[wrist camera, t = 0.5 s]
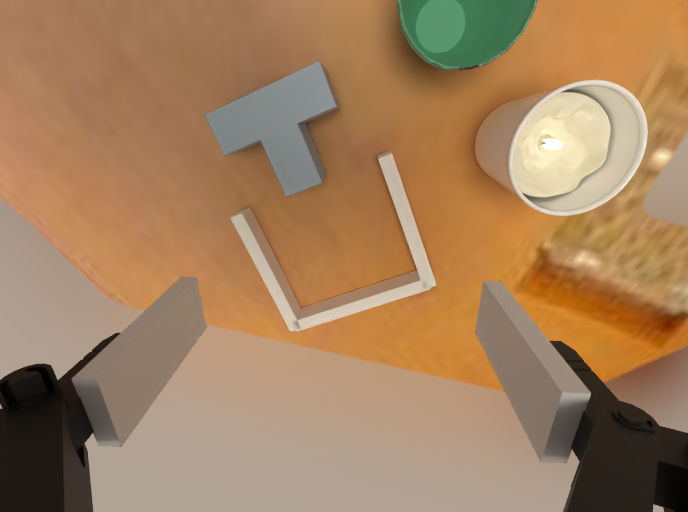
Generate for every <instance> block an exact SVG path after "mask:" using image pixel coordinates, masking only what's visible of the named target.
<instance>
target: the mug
mask: <svg viewBox="0 0 688 512" xmlns="http://www.w3.org/2000/svg"><path fill="white" fill-rule="evenodd" d="M536 3H537V0H397V7H398V13H399V19H400V24H401V29H402V31H403V33H404V35H405V37H406V39H407V41H408V43H409V45H410V47H411V48H412V49H413V50H414V51H415V52H416V53H417V54H418V55H419V56H420V57H421V58H422V59H423V60H424V61H425V62H426V63H429V64H431V65H433V66H435V67H437V68H440V69H442V70H465V69H473V68H476V67H480V66H483V65H486V64H488V63H489V62H491V61H492V60H494V59H495V58H497V57H499V56H500V55H502V54H503V53H505V52H506V51H507V50H508V49H509V48H510V47H511V46H512V45H513V43H514V42H515V41H516V40H517V39H518V38H519V37H520V35H521V34H522V33H523V32H524V30H525V28H526V26H527V24H528V22H529V20H530V18H531V16H532V14H533V12H534V10H535V8H536Z"/></svg>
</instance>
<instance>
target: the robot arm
mask: <svg viewBox="0 0 688 512" xmlns="http://www.w3.org/2000/svg"><path fill="white" fill-rule="evenodd" d="M206 328H207V326H206V321H205V316H204V311H203V306H202V301H201V295H200V290H199V285H198V280H197V278H194V277H181V278H180V279H179V280H178V281H176V282H175V283H174V284H173V285H172V286H171V287H170V288H169V289H168V290H167V291H166V292H165V293H164V294H162V295H161V296H160V297H159V298H158V299H157V300H156V301H155V302H154V303H153V304H152V305H151V306H150V307H148V308H147V309H146V310H145V311H144V312H143V313H142V314H141V315H140V316H139V317H138V318H137V319H136V320H135V321H133V322H132V323H131V324H130V325H129V326H128V327H127V328H126V329H125V330H124V331H123V332H122V333H115V334H114V335H112V336H110V337H109V338H107V339H105V340H103V341H102V342H101V343H99V344H98V345H97V346H96V347H95V348H94V349H93V350H92V352H89V353H88V354H87V355H86V356H85V357H84V358H83V360H80V361H79V362H78V363H77V364H76V365H75V366H74V367H73V368H72V369H70V370H69V371H68V372H67V373H66V374H65V375H64V376H62V378H60V379H59V380H57V378H56V375H55V373H54V371H53V369H52V367H51V365H47V364H35V365H30V366H27V367H23V368H21V369H19V370H16V371H14V372H12V373H10V374H8V375H7V376H5V377H3V378H2V379H1V380H0V404H1V406H2V408H3V409H0V512H93V505H92V495H91V483H90V472H89V462H88V451H87V448H86V446H85V444H84V443H85V442H86V441H87V439H88V438H89V437H90V435H91V434H92V433H93V434H94V436H95V438H96V441H97V443H98V445H99V446H114V447H122V445H123V444H124V443H125V441H126V440H127V438H128V437H129V436H130V434H131V433H132V431H133V430H134V429H135V427H136V426H137V424H138V423H139V422H140V420H141V419H142V417H143V416H144V415H145V413H146V412H147V410H148V409H149V407H150V406H151V405H152V403H153V402H154V401H155V399H156V398H157V396H158V395H159V393H160V392H161V391H162V389H163V388H164V386H165V385H166V384H167V382H168V381H169V379H170V378H171V377H172V375H173V374H174V372H175V371H176V370H177V368H178V367H179V365H180V364H181V363H182V361H183V360H184V358H185V357H186V356H187V354H188V353H189V351H190V350H191V349H192V347H193V346H194V344H195V343H196V342H197V340H198V339H199V337H200V336H201V335H202V333H203V332H204V330H205V329H206ZM475 333H476V335H477V337H478V339H479V341H480V343H481V345H482V347H483V349H484V351H485V353H486V355H487V357H488V359H489V361H490V363H491V365H492V367H493V369H494V371H495V373H496V375H497V377H498V379H499V381H500V383H501V385H502V387H503V389H504V391H505V393H506V394H507V396H508V398H509V400H510V402H511V404H512V406H513V408H514V410H515V412H516V414H517V416H518V418H519V420H520V422H521V424H522V426H523V428H524V430H525V432H526V434H527V436H528V438H529V440H530V442H531V444H532V446H533V448H534V450H535V451H536V454H537V456H538V458H539V460H540V462H547V463H567V461H568V459H569V456H570V453H571V450H573V451H574V453H575V455H576V456H577V458H578V459H579V461H580V463H579V465H578V468H577V471H576V474H575V476H574V479H573V482H572V484H571V489H570V493H569V495H568V499H567V502H566V505H565V508H564V511H563V512H653V504H655V505H658V506H661V507H663V508H664V512H688V433H685V432H681V431H677V430H673V429H669V428H666V427H661V426H659V425H658V424H657V422H656V421H655V420H654V419H653V418H652V417H651V416H650V415H649V414H647V413H646V412H645V411H643V410H641V409H640V408H638V407H636V406H634V405H632V404H628V403H625V402H622V401H619V400H618V399H617V398H616V397H615V396H614V394H613V393H612V392H611V391H610V390H609V389H608V388H607V387H606V385H605V384H604V383H603V382H602V381H601V380H600V379H599V377H598V376H597V375H596V374H595V373H594V372H593V371H591V368H590V367H589V366H588V365H587V364H586V363H584V360H583V359H582V358H581V357H580V356H579V355H578V354H577V352H576V351H575V350H573V349H572V348H570V347H569V346H567V345H566V344H564V343H563V342H561V341H549V340H548V339H547V338H546V336H545V335H544V334H543V333H542V332H541V330H540V329H539V328H538V327H537V325H536V324H535V323H534V322H533V320H532V319H531V318H530V317H529V315H528V314H527V313H526V312H525V310H524V309H523V308H522V307H521V306H520V304H519V303H518V302H517V301H516V299H515V298H514V297H513V296H512V294H511V293H510V292H509V291H508V289H507V288H506V287H505V286H504V284H503V283H502V282H501V281H483V287H482V294H481V300H480V306H479V312H478V318H477V324H476V330H475Z"/></svg>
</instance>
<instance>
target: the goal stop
mask: <svg viewBox="0 0 688 512" xmlns="http://www.w3.org/2000/svg"><path fill="white" fill-rule="evenodd" d="M377 157H378V160H379V163H380V166H381V168H382V171H383V174H384V177H385V180H386V183H387V185H388V188H389V191H390V194H391V197H392V200H393V202H394V205H395V208H396V211H397V214H398V217H399V219H400V222H401V225H402V228H403V231H404V234H405V236H406V239H407V242H408V245H409V248H410V251H411V254H412V256H413V259H414V262H415V265H416V268H417V270H415V271H412V272H409V273H406V274H403V275H400V276H397V277H394V278H391V279H388V280H385V281H382V282H379V283H376V284H373V285H370V286H367V287H363V288H360V289H357V290H354V291H351V292H348V293H345V294H342V295H339V296H336V297H333V298H330V299H327V300H324V301H321V302H318V303H315V304H312V305H309V306H306V307H303V308H301V307H300V305H299V303H298V301H297V299H296V297H295V295H294V293H293V291H292V289H291V287H290V285H289V283H288V281H287V279H286V277H285V275H284V273H283V271H282V269H281V267H280V265H279V263H278V261H277V259H276V257H275V255H274V253H273V251H272V249H271V247H270V245H269V243H268V241H267V239H266V237H265V235H264V233H263V231H262V229H261V227H260V225H259V223H258V221H257V219H256V217H255V215H254V213H253V211H252V209H251V207H248V208H245V209H243V210H240V211H239V212H237V213H236V214H235V215H233V216H232V217H231V220H232V222H233V224H234V226H235V228H236V230H237V231H238V233H239V235H240V237H241V239H242V241H243V243H244V245H245V247H246V248H247V250H248V252H249V254H250V256H251V258H252V260H253V262H254V264H255V265H256V267H257V269H258V271H259V273H260V275H261V277H262V279H263V281H264V283H265V284H266V286H267V288H268V290H269V292H270V294H271V296H272V298H273V300H274V301H275V303H276V305H277V307H278V309H279V311H280V313H281V315H282V317H283V318H284V320H285V322H286V324H287V326H288V328H289V330H290V332H291V331H294V330H296V331H300V330H303V329H306V328H310V327H313V326H316V325H319V324H322V323H325V322H329V321H332V320H335V319H338V318H341V317H344V316H348V315H351V314H354V313H357V312H360V311H363V310H366V309H370V308H373V307H376V306H379V305H382V304H385V303H389V302H392V301H395V300H398V299H401V298H404V297H408V296H411V295H414V294H417V293H420V292H423V291H427V290H430V289H431V288H430V287H433V286H436V282H435V279H434V276H433V273H432V270H431V267H430V264H429V261H428V258H427V255H426V253H425V250H424V247H423V244H422V241H421V238H420V235H419V232H418V229H417V226H416V223H415V220H414V217H413V214H412V211H411V208H410V205H409V202H408V199H407V196H406V193H405V190H404V187H403V184H402V181H401V178H400V175H399V172H398V169H397V166H396V163H395V161H394V158H393V155H392V152H391V151H387V152H385V153H382V154H380V155H377Z"/></svg>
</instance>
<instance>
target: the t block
mask: <svg viewBox="0 0 688 512" xmlns="http://www.w3.org/2000/svg"><path fill="white" fill-rule="evenodd" d="M339 108H340V107H339V104H338V101H337V99H336V96H335V93H334V91H333V88H332V85H331V83H330V80H329V77H328V74H327V72H326V69H325V68H324V66H323V65H322V64H321V62H320V61H318V62H316V63H314V64H312V65H310V66H307V67H305V68H303V69H301V70H299V71H297V72H295V73H293V74H290V75H288V76H286V77H284V78H282V79H280V80H278V81H276V82H273V83H271V84H269V85H267V86H265V87H263V88H261V89H259V90H256V91H254V92H252V93H250V94H248V95H246V96H244V97H242V98H239V99H237V100H235V101H233V102H231V103H229V104H227V105H225V106H222V107H220V108H218V109H216V110H214V111H212V112H210V113H208V114H205V117H206V119H207V121H208V123H209V125H210V127H211V129H212V131H213V133H214V135H215V137H216V139H217V141H218V143H219V145H220V147H221V149H222V151H223V153H224V155H228V154H233V153H237V152H241V151H243V150H246V149H248V148H250V147H253V146H255V145H257V144H259V143H262V145H263V147H264V149H265V151H266V154H267V156H268V158H269V160H270V162H271V165H272V167H273V169H274V171H275V173H276V176H277V178H278V180H279V182H280V184H281V187H282V189H283V191H284V193H285V195H286V197H288V196H290V195H293V194H295V193H298V192H300V191H303V190H305V189H308V188H310V187H313V186H315V185H318V184H320V183H322V182H323V181H324V179H325V178H326V177H327V174H326V171H325V169H324V167H323V164H322V162H321V159H320V157H319V154H318V152H317V149H316V147H315V144H314V142H313V139H312V137H311V135H310V132H309V130H308V127H307V125H306V123H307V122H310V121H312V120H314V119H316V118H319V117H321V116H323V115H326V114H328V113H330V112H332V111H335V110H337V109H339Z"/></svg>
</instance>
